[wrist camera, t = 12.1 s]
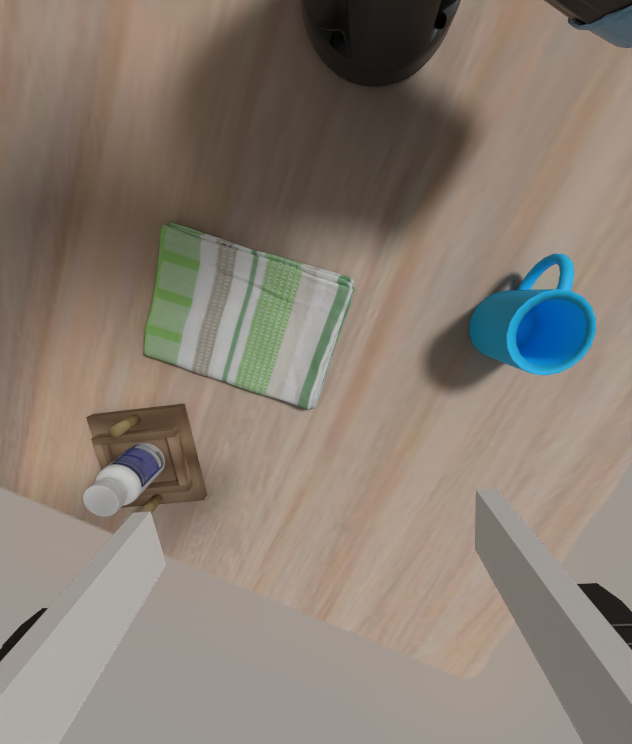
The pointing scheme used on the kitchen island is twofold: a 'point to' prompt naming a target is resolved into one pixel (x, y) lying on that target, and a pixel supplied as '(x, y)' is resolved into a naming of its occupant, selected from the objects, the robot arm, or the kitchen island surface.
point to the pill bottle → (124, 479)
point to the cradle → (167, 434)
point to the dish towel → (245, 315)
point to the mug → (536, 323)
